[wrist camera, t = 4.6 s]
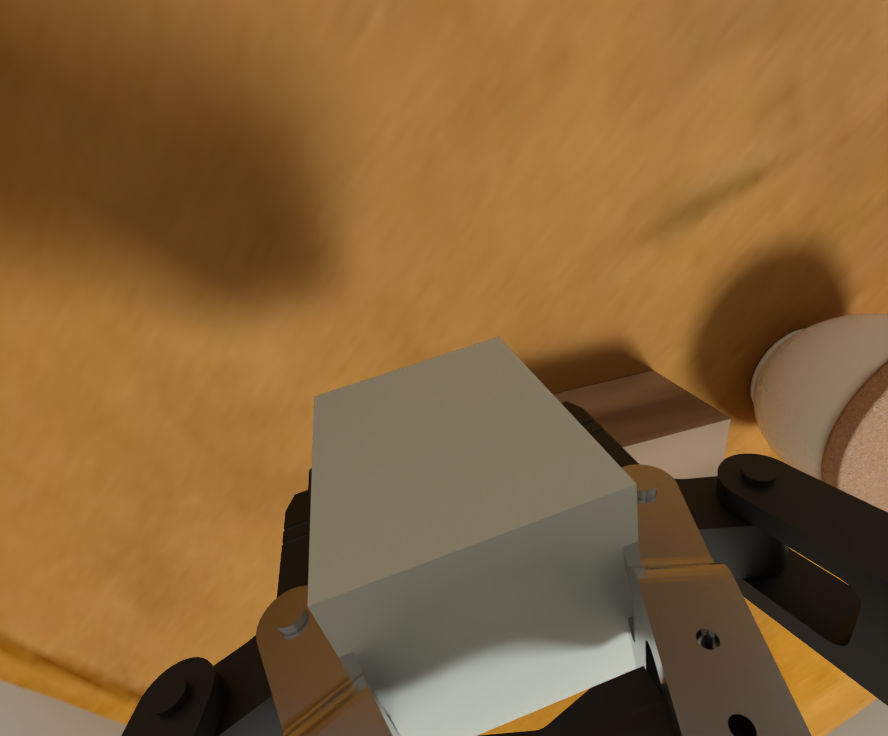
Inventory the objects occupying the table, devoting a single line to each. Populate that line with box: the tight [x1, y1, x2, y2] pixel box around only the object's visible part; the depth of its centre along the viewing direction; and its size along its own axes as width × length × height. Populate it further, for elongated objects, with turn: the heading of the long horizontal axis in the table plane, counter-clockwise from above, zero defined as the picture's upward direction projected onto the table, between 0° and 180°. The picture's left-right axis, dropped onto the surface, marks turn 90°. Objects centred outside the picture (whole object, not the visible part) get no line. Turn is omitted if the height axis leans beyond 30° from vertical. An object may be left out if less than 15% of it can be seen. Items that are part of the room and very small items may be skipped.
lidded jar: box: [750, 313, 888, 512], centre depth 25 cm, size 11×11×9 cm
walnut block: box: [553, 370, 731, 479], centre depth 26 cm, size 11×11×6 cm
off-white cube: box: [307, 337, 638, 736], centre depth 10 cm, size 5×5×6 cm
